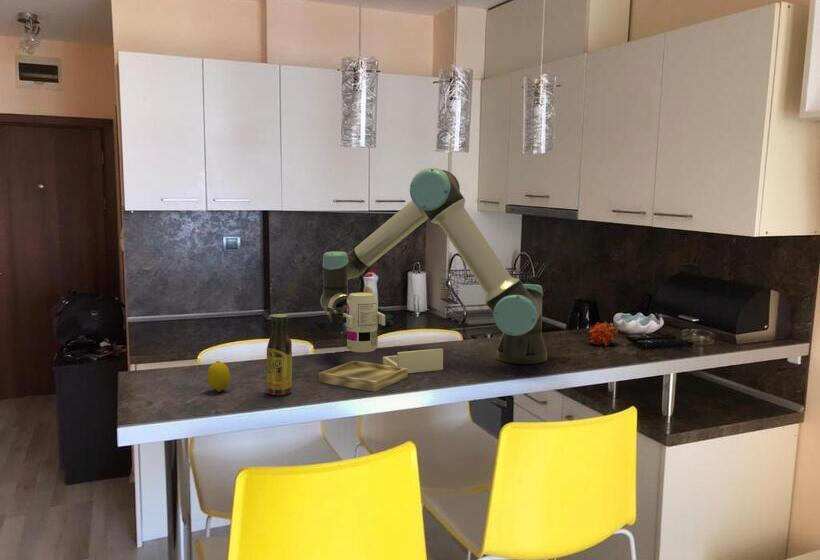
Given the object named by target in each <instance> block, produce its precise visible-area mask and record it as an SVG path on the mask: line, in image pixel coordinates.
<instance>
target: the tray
mask: <svg viewBox="0 0 820 560" xmlns="http://www.w3.org/2000/svg"><path fill="white" fill-rule="evenodd" d="M408 375H409V373H408V368H402V367H395V366H388V365H385V364H381V363H375V362H367V361H360V360H351V361H349V362H345V363H343V364H339V365H337V366H334V367H332V368H329V369H325V370H323V371H320V372H318V383H323V384H328V385H335V386H341V387H345V388H352V389H356V390H364V391H368V392H373V393H375V392H378V391H380V390H382V389H384V388H387V387H389V386H391V385H394V384H395V383H398V382H400V381H403V380H405V379H406V378H408V377H409V376H408Z"/></svg>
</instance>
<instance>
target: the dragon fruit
mask: <svg viewBox="0 0 820 560" xmlns="http://www.w3.org/2000/svg"><path fill="white" fill-rule="evenodd" d="M589 329H590V330H589V331H588V333H587V334H586V337H587V338H588V339H589V340H590V343H591V345H593V346H594V345H595V346H600V345H603V344H604V347H606V346H609V345H612V342H616V341H618V340H619V338H617V337H619V328H618V327H617V326H615V324H614V323H613V322H610V323H608V322H607V321H606V320H603V323H600V322H596V323H595V324H594V325H591V326H590V328H589Z"/></svg>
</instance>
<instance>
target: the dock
mask: <svg viewBox="0 0 820 560" xmlns="http://www.w3.org/2000/svg"><path fill="white" fill-rule="evenodd" d="M382 365H388V366H395V367H402V368H408V374H414V373H424V372H425V373H426V372H432V371H433V372H434V371H442V370H444V349H443V348H431V349H430V348H429V349H422V350H421V349H420V350H419V349H418V350H410V351H397V355H389V356H388V355H387V356H382Z"/></svg>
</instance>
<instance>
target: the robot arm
mask: <svg viewBox="0 0 820 560" xmlns="http://www.w3.org/2000/svg"><path fill="white" fill-rule="evenodd" d="M460 190H461V187H460V183H459V180H458V178H457V177H456V176H455V175H454V174H453V173H452V172H450V171H448V170H446V169H440V168H436V167H428V168H424V169H422V170H420V171H418V172H417V173H416V174H415V175H414V176H413V178H412V180H411V182H410V185H409V195H410V199H411V200H410V201H409V202H408V203H407V204H406V205H404V206H403V207H402V208H401V209H400V210H399V211H397V212H395V214H394V215H392V217H390V218H389V219H387V221H385V222H384V223H383V224H382V225H381V226H379V227H378V228H377V229H375V230H374V231H373V232H372V233H371V234H369V236H367V237H366V238H364V239H363V241H362V242H360V243H359V244H358V245H357V246H355V248H353V249H352V250H350V251H349V252H348V253H347V252H346V251H327V252H324V253H323V256H322V257H323V259H322V264H321V265H322V278H323V281H322V282H323V288H322V295H321V297H320V301H319V302H320V305H321V306H320V307H321V308H322V309H323V311H325V313H326V318H329V321H330V323H332V324H334V323H336V322H337V324H338V326H340V327H341V326H343V325H344V326H346V327H347V326H348V327H350V328H353V317H351V316H350V315H348V314H347V298H348V297H349V289H348V288H349V280H351V279H352V280H353V279H357V278H359V277H361V276H362V275H363V274H364V273H365V271H366V270H367V269H368V268H369V267H371V266H372V265H373V264H374V263H375V262H377V260H379V259H380V258H382V256H384V255H385V254H386V253H388V252H389V251H390V250H391V249H392V248H394V247H396V245H397V244H399V243H401V241H403V239H405V238H406V237H407V236H409V235H410V234H411V233H412V232H413V231H415V230H416V229H417V228H419V226H420V225H422V224H423V223H425V222H426V221H427V220H429V222H431V223H432V224H436V225H438V226H439V227H440V228H441V230H442V231H443V232H444V233H445V235H446V237H447V238H448V239H449V241H450V243H451V244H452V246H453V248H454V249H455V250H456V251H457V253H458V255H459V256H460V257H461V259H462V260H463V262H464V264H465V265H466V267H468V269H469V270H470V272H471V274H472V275H473V277H474V278H475V280H476V282H478V285H479V286H480V287H481V289H482V290H483V291H484V292H483V293H485V299H484V303H485V304H486V305H487V307H488V309H489V310H490V311H491V314H492V316H493V321H494V324H495V326H496V327H497V329H499V330H500V331H501V332H502V334H501V338H500V341H499V344H498V347H497V349H496V358H497V359H496V360H499V361H501V362H503V363H508V364H514V365H515V364H516V365H534V364H535V365H536V364H542V363H544V362H547V361H548V352H547V348H546V345H545V342H544V338H543V334H542V333H543V332H542V331H543V329H542V328H543V327H542V325H543V297H544V292H543V287H542V285H541V284H532V283H523V282H522V281H521V280H520V278H516V277H512V275H510V273H509V271H508V270H507V268H506V267H505V266H504V264H503V263H502V261H501V259H500V258H499V257H498V255H497V253H495V251H494V249H493V248H492V247H491V244H490V243H489V242H488V241H487V239H486V238H485V236H484V234H483V233H482V232H481V230H480V229H479V227H478V226H477V224H476V222H475V221H474V220H473V218H472V217H471V216H470V214H469V212H468V211H467V210H466V208H465V204H466V199H465V197H464V196H463V194H462V192H461V191H460ZM386 320H387V310H386V309H382V308H378V324H379V325H381V326H386Z"/></svg>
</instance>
